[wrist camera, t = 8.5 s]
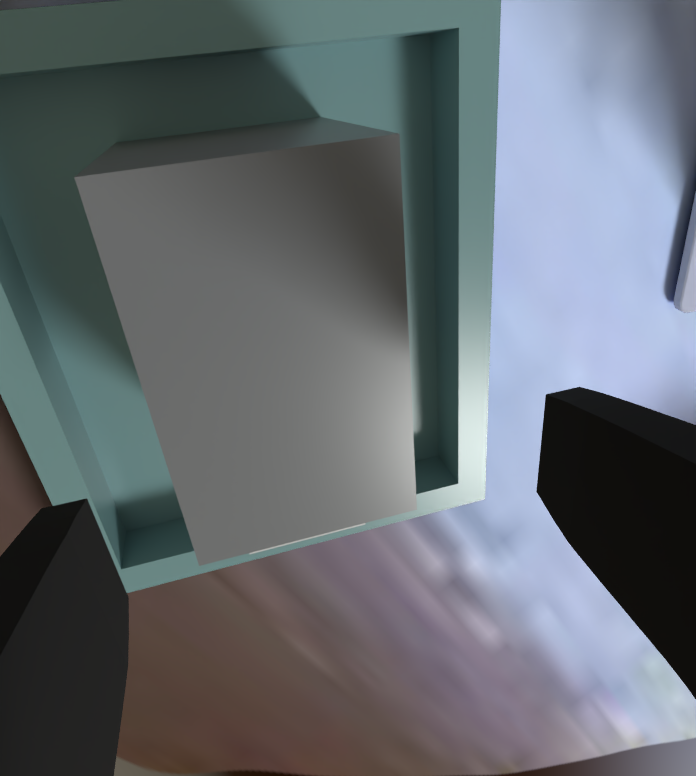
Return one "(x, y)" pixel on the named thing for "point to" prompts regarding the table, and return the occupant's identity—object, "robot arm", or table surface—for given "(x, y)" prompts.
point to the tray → (215, 112)
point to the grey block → (265, 322)
